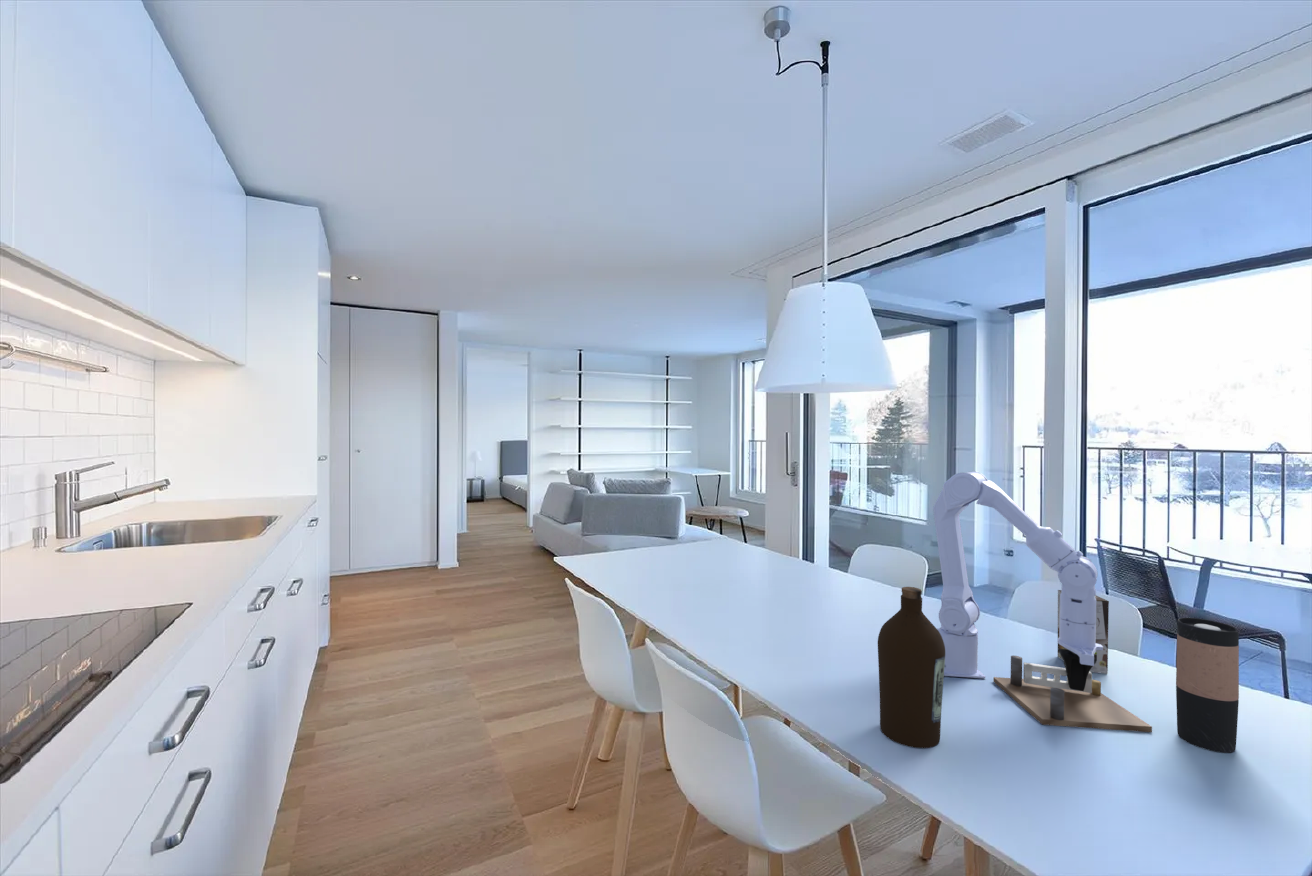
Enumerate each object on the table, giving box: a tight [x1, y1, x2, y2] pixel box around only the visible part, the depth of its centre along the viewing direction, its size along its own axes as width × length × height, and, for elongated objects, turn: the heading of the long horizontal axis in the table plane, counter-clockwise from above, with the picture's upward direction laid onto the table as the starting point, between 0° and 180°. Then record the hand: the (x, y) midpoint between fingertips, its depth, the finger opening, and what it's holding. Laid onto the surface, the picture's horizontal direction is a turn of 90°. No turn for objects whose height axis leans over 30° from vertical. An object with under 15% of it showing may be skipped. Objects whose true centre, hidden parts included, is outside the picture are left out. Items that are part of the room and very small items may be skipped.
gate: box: [1022, 662, 1093, 693], centre depth 112 cm, size 11×1×4 cm, turn 69°
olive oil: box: [877, 586, 945, 749], centre depth 96 cm, size 11×11×25 cm
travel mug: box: [1175, 617, 1240, 754], centre depth 96 cm, size 8×8×20 cm
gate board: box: [993, 655, 1153, 733], centre depth 108 cm, size 18×18×6 cm
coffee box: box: [1057, 589, 1110, 675], centre depth 128 cm, size 9×6×16 cm
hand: (1076, 689), depth 110 cm, fingers closed
